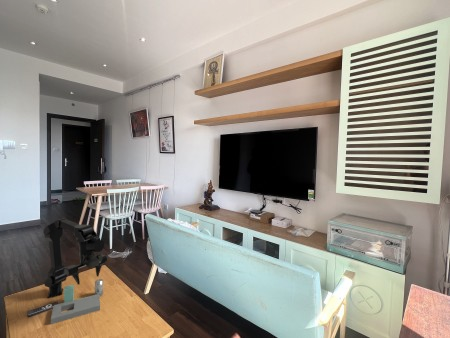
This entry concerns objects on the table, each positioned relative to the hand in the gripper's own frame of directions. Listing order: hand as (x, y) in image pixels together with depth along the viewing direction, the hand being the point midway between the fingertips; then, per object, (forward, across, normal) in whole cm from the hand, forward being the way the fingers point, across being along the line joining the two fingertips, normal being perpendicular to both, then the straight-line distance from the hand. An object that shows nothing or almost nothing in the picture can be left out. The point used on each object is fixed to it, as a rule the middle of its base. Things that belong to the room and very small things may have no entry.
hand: (88, 280), depth 114 cm
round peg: (+14, +8, +8) cm, 18 cm away
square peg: (+12, -4, +14) cm, 19 cm away
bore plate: (+14, -5, +4) cm, 15 cm away
